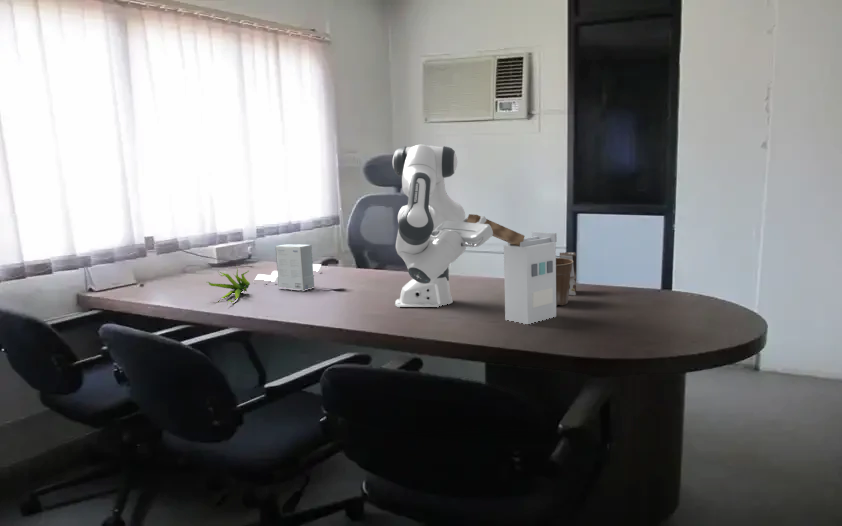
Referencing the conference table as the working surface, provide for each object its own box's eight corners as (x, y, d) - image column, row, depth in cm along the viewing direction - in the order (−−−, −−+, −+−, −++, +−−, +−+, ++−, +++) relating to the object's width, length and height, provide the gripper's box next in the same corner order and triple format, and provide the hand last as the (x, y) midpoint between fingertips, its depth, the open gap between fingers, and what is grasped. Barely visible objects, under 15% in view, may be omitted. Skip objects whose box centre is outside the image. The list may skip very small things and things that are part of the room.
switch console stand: (528, 325, 221) (527, 238, 216) (505, 320, 229) (503, 236, 224) (558, 316, 231) (557, 233, 226) (534, 312, 239) (533, 231, 234)
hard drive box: (315, 288, 299) (312, 244, 296) (303, 292, 293) (300, 247, 289) (289, 286, 307) (286, 243, 304) (277, 289, 301) (274, 245, 298)
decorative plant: (192, 308, 270) (188, 272, 268) (239, 293, 297) (236, 260, 295) (227, 310, 263) (224, 273, 261) (272, 294, 290) (269, 261, 288)
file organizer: (252, 285, 318) (251, 274, 317) (302, 272, 347) (302, 263, 346) (271, 287, 311) (270, 276, 310) (321, 274, 340) (321, 264, 339)
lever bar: (474, 225, 205) (476, 214, 205) (466, 224, 208) (468, 214, 208) (522, 245, 221) (524, 235, 221) (514, 245, 224) (516, 234, 224)
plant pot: (570, 308, 241) (570, 265, 239) (526, 307, 247) (525, 264, 245) (576, 299, 256) (576, 258, 254) (534, 297, 262) (533, 257, 260)
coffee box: (576, 295, 264) (576, 255, 261) (559, 295, 265) (559, 255, 262) (575, 290, 272) (575, 251, 270) (559, 290, 274) (559, 251, 271)
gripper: (471, 238, 193) (499, 210, 199) (425, 233, 208) (452, 207, 215) (479, 255, 196) (506, 228, 202) (433, 249, 211) (460, 223, 218)
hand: (478, 217), depth 209 cm, fingers open, 3 cm apart
